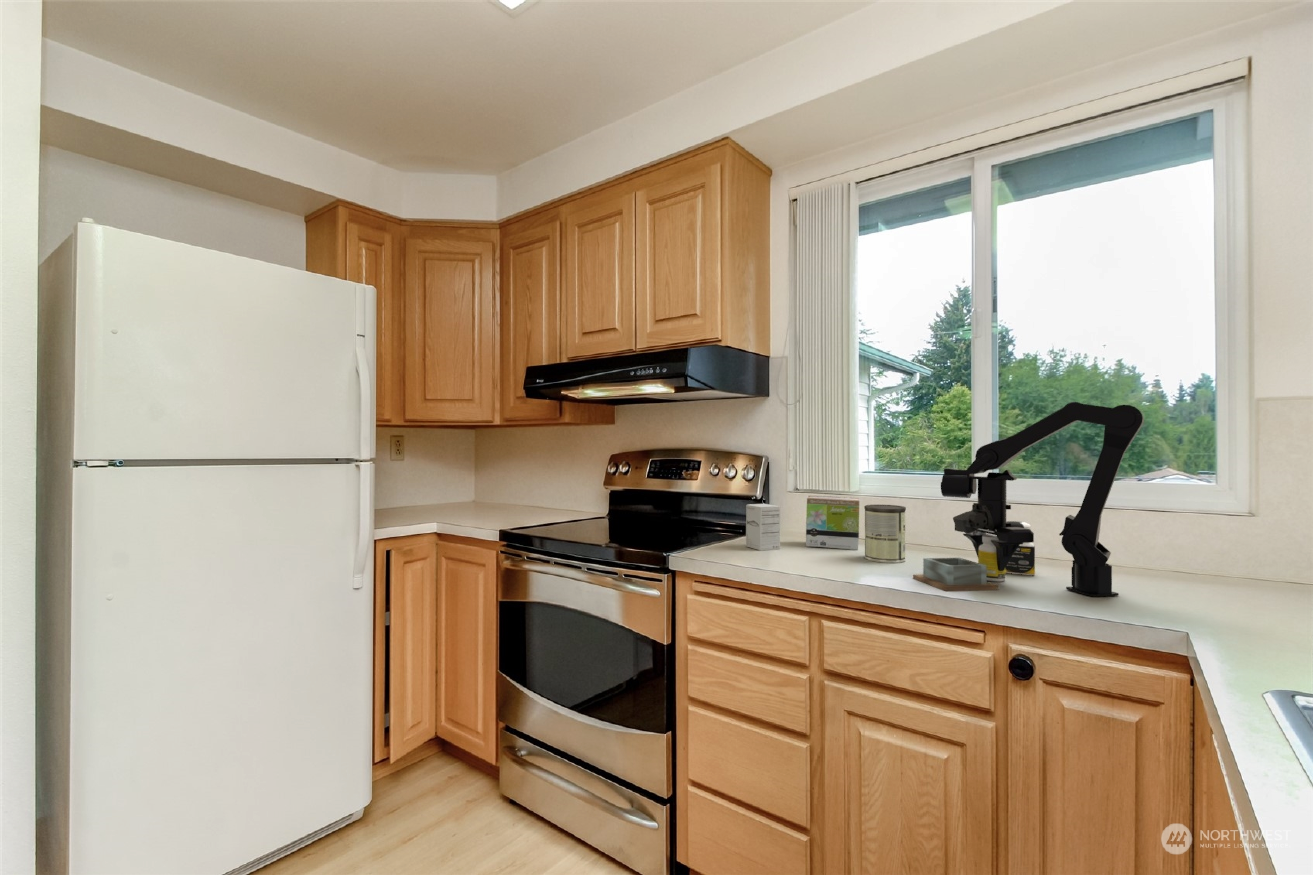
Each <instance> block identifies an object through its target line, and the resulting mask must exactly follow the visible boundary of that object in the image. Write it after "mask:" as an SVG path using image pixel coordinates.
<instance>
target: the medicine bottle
mask: <svg viewBox="0 0 1313 875" xmlns="http://www.w3.org/2000/svg"><path fill="white" fill-rule="evenodd" d="M1006 522H1007V523H1011V527H1021V528H1026V529H1030V530H1031V531H1032V525H1031V524H1029V523H1028V522H1024V521H1018V520H1017V521H1016V520H1014V521H1012V520H1011V521H1010V520H1009V521H1007V520H1006ZM1011 573H1012V574H1013V575H1021V574H1022V576H1023V575H1024V576H1032V575H1034V576H1035V575H1036V545H1034V542H1029V543H1023V544H1020V545H1019V547H1018V548H1017V549H1016V551H1015V552H1014V554H1013V555H1012V557H1011V559H1010V560H1009V562H1008V564H1007V566H1006V567H1005V574H1011ZM1012 574H1011V575H1012Z"/></svg>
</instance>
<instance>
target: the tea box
mask: <svg viewBox="0 0 1313 875" xmlns="http://www.w3.org/2000/svg"><path fill="white" fill-rule="evenodd" d="M805 524H806V525H805V546H806V548H808V547H815V548H827V549H828V548H830V549H838V550H839V549H840V550H852V551H858V550H859V544H860V543H859V542H860V539H859V538H860V500H859V497H851V496H850V497H848V496H831V495H830V496H826V495H808V497H807V498H806V522H805Z"/></svg>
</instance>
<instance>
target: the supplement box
mask: <svg viewBox="0 0 1313 875" xmlns="http://www.w3.org/2000/svg"><path fill="white" fill-rule="evenodd" d="M745 507H746V508H745V509H746V510H745V511H746V513H745V516H746V517H745V518H746V519H745V520H746V521H745V547H746V548H747V547H748V548H751V549H753V550H754V549H755V550H757V551H773V550H780V549H781V506H780V505H773V504H769V503H752V504H750V503H748V504H746V506H745Z"/></svg>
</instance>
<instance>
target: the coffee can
mask: <svg viewBox="0 0 1313 875" xmlns="http://www.w3.org/2000/svg"><path fill="white" fill-rule="evenodd" d="M863 507H864V559H865V560H867V561H872V562H876V563H884V564H885V563H886V564H888V563H889V564H895V563H896V564H898V563H904V562H906V508H907V507H906V506H902V505H896V504H895V505H894V504H867V505H864V506H863Z"/></svg>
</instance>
